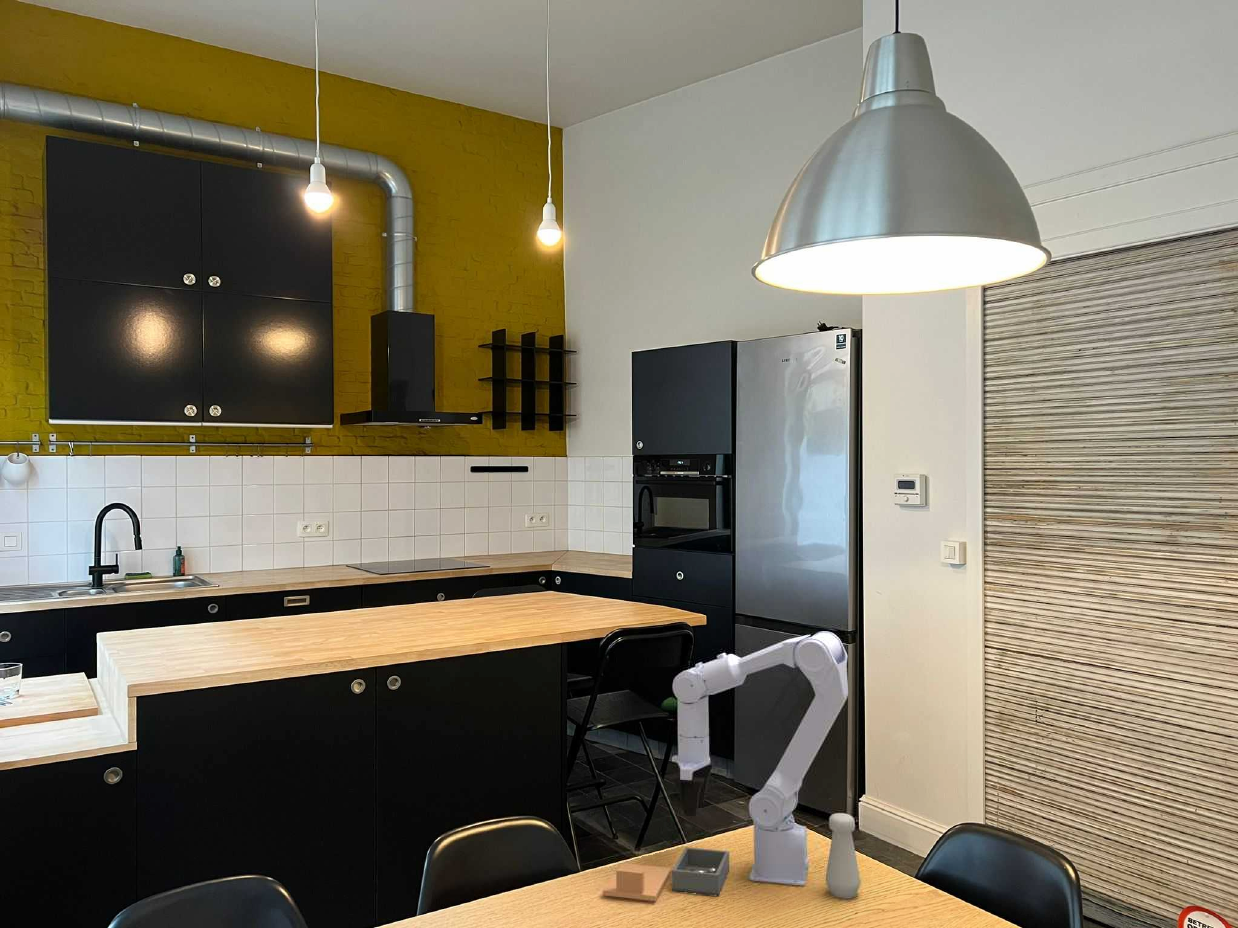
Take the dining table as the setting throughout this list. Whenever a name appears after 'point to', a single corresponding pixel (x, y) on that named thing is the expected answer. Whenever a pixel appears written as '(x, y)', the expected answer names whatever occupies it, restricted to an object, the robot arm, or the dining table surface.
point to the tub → (700, 871)
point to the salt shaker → (842, 858)
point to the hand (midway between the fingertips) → (694, 808)
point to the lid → (637, 882)
